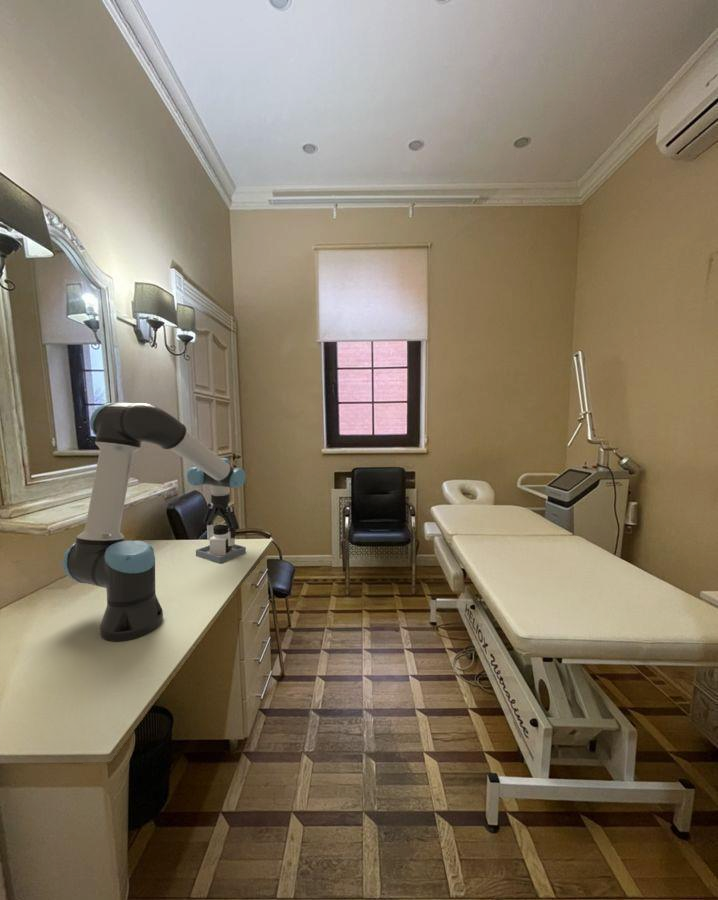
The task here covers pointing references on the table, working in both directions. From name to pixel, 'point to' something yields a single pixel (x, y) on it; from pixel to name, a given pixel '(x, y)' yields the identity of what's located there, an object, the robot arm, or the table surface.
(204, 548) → the tray
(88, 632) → the table surface
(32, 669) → the table surface
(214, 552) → the medicine bottle
